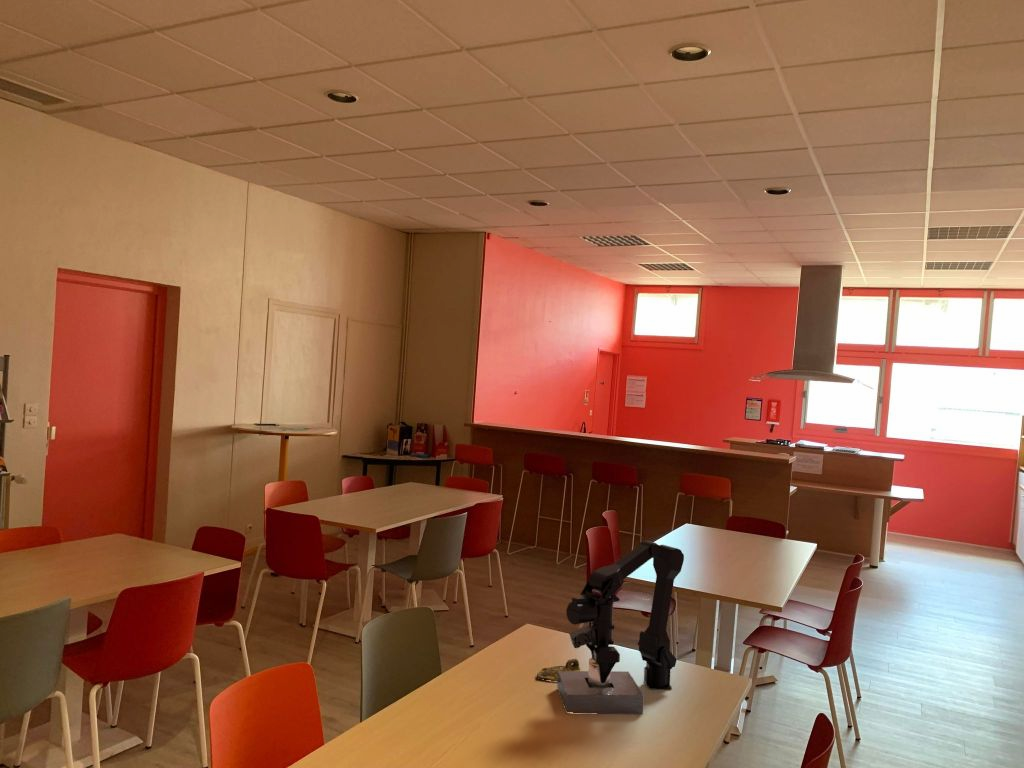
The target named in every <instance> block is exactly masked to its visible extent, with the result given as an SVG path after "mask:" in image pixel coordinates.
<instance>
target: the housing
mask: <svg viewBox="0 0 1024 768" xmlns="http://www.w3.org/2000/svg"><path fill="white" fill-rule="evenodd" d="M588 671H589V670H588ZM588 671H587V670H585V671H584V670H583V671H582V670H580V671H558V681H557V682H556V684H557V686H556V689H557V688H558V690H557V692H558V691H559V693H560V695H559V697H560V696H561V698H560V700H561V699H562V700H561V702H562V701H563V703H562V705H563V704H564V706H565V708H564V710H565V709H566V711H567V712H573V713H597V714H596V715H643V714H644V694H643V692H642V690H641V689H640V687H639V685H638V684H637V683H636V681H635V680H634V678H633V676H632V675H631V673H630V672H629V671H620V670H619V671H617V670H615V671H612V670H611V684H610V688H589V686H588ZM559 693H558V694H559ZM564 706H563V707H564ZM566 711H565V712H566Z"/></svg>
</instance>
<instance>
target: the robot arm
mask: <svg viewBox="0 0 1024 768" xmlns="http://www.w3.org/2000/svg"><path fill="white" fill-rule="evenodd" d="M651 559H652V566H653V569H654V572H655V576H656V578H655V585H654V592H653V595H652V596H653V597H652V603H651V609H650V615H649V623H648V627H646V629H645V630H644V631H642V630H641V631H640V632H639V638H638V642H637V646H638V651H639V653H640V656H641V660H642V661H644V662H645V664H646V666H645V667H644V668H643V670H644V671H643V682H644V684H645V685H646V686H647V687H648V689H649V690H672V689H673V688H672V685H671V670H672V669H673V668H675V667H676V664H677V658H676V656H675V655H674V654H673V652H671V651H670V646H671V640H670V637H669V634H668V632H667V627H668V626H667V625H668V621H669V614H670V607H671V602H672V596H673V589H674V583H675V580H676V578H677V577H678V575H679V574H680V573H681V572H682V568H683V564H684V561H685V555H684V553H683V551H682V550H681V549H679V548H677V547H673V546H669V545H666V544H657V542H654V541H650V540H642V541H641V542H640V543H639V544H638V545H637V546H635V548H633V549H632V550H631V551H629V552H628V553H626V554H625V555H623V556H622V557H621V558H619V559H618V560H616V561H615V562H614V563H612V564H610V565H606V566H601V567H599V568H598V569H597V568H596V569H595V570H593V571H592V572H591V573H590V575H589V578H588V580H587V581H586V584H585V586H584V587H583V589H581V592H580V596H573V597H572V598H571V602H569V603H568V605H567V606H566V610H565V611H566V612H565V613H566V617H567V620H568V622H569V623H570V624H571V625H580V624H586V623H587V624H588V625H586V626H582V627H580V628H575V629H574V630H573V629H572V630H571V631H569V632H568V634H569V637H570V638H569V639H570V641H571V644H572V646H573V648H574V649H579V648H580V647H583V646H585V645H586V647H587V649H589V650H590V654H591V658H594V660H595V662H597V663H598V666H599V674H600V682H601V683H605V682H606V680H607V678H608V676H609V674H610V672H611V671H612V670H613V669H614V667H615V665H616V664H617V663H620V661H621V660H620V659H621V654H620V652H619V651H618V650H617V649H616V648H615V646H614V644H615V643H614V639H613V630H615V625H614V623H613V620H614V618H613V616H614V603H617V602H620V600H621V599H620V598H619V597H618V596H617V595H616V593H618V591H619V590H620V589H621V588H622V586H623V583H624V581H625V580H626V578H627V577H629V576H630V575H632V574H633V573H634V572H635V571H637V570H638V569H640V568H641V567H642V566H643V565H645V564H646V563H647V562H648V561H650V560H651ZM596 592H597V593H596ZM598 593H599V594H598ZM610 645H611V646H610ZM612 645H613V646H612Z"/></svg>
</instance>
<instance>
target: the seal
mask: <svg viewBox="0 0 1024 768" xmlns="http://www.w3.org/2000/svg"><path fill="white" fill-rule="evenodd" d="M558 671H581V667H580V662H579V659H577V658H572V659H568V660H567V661H566V663H565V665H556V666H550V667H544V668H543V667H542V668H541V670H540V671H539V672H537V674H536V677H537V678H539V679H544V680H551V681H558ZM537 678H536V679H537ZM539 679H538V680H539Z"/></svg>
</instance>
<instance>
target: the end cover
mask: <svg viewBox="0 0 1024 768" xmlns="http://www.w3.org/2000/svg"><path fill="white" fill-rule="evenodd" d="M610 684H611V672H610V674H609V676H608V678H607V680H606V682H605V683H601V682H600V674H599V666H598V663H597V662H595V660H594V658H592V657H590V658H589V660H588V686H589V688H610Z"/></svg>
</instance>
